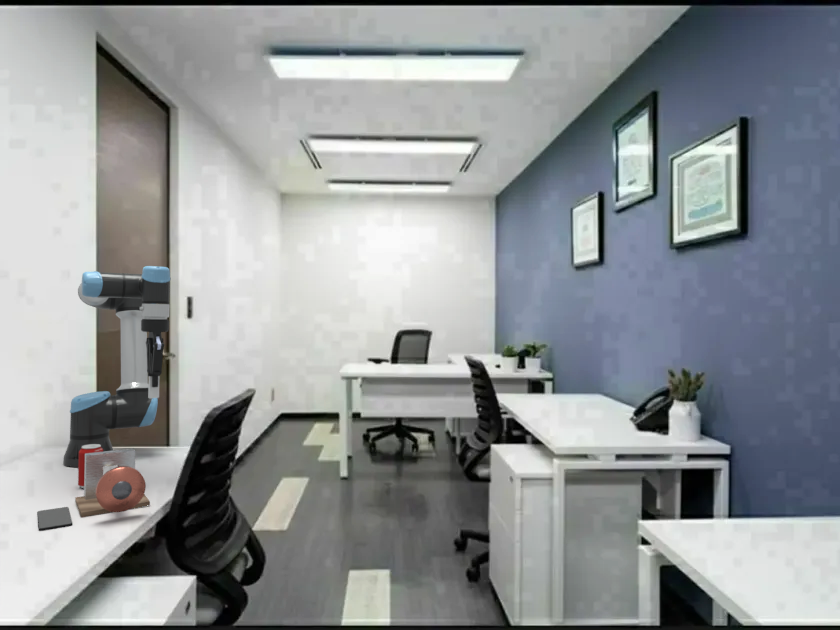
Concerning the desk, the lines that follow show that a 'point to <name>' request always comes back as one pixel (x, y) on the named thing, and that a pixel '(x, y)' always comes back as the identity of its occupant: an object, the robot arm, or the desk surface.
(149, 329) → the robot arm
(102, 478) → the copper knob thumbscrew
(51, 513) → the smartphone
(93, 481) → the eye plate
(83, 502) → the walnut board
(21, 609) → the desk surface
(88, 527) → the desk surface
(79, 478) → the beverage can
